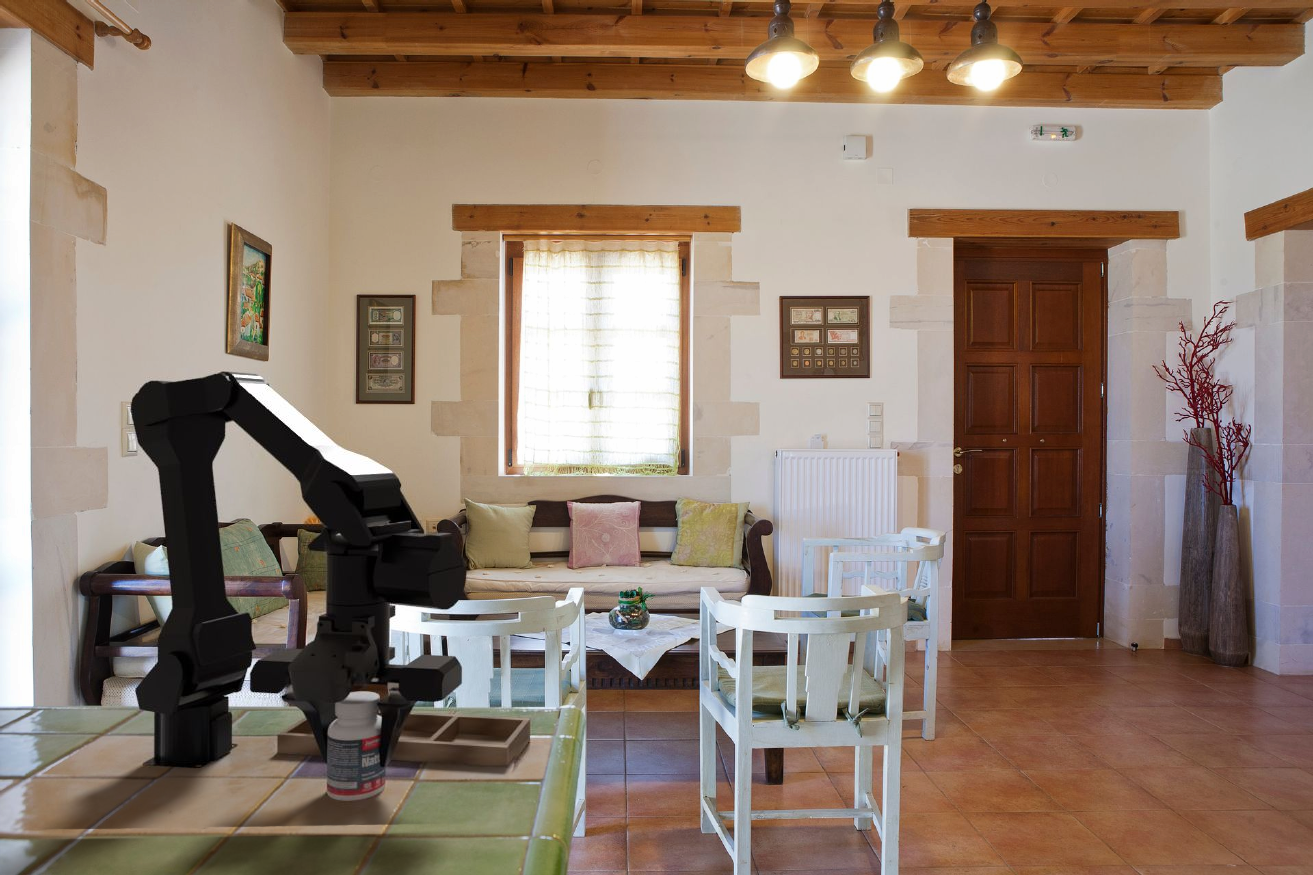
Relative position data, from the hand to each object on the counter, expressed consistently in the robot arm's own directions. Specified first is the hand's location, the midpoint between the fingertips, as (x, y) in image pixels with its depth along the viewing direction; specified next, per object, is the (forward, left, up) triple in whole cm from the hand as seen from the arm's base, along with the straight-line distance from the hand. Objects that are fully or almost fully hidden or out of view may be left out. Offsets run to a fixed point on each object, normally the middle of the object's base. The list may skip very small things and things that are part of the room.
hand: (357, 763), depth 80 cm
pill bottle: (0, 0, -3) cm, 3 cm away
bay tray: (0, +11, -3) cm, 12 cm away
